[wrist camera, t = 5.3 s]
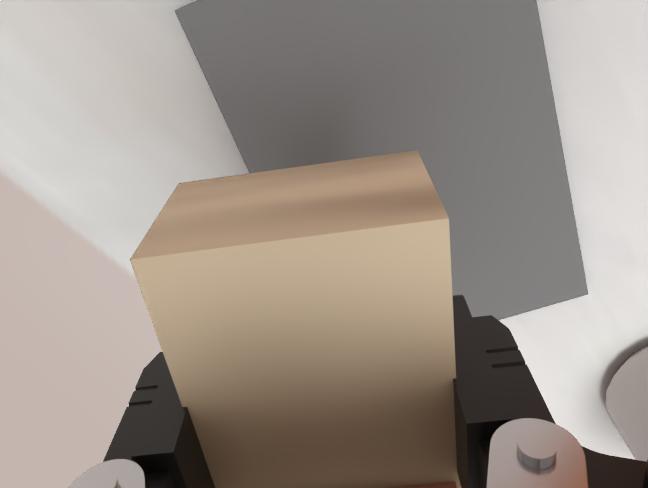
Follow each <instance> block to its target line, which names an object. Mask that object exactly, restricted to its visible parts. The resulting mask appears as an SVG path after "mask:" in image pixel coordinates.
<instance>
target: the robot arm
mask: <svg viewBox="0 0 648 488" xmlns="http://www.w3.org/2000/svg"><path fill="white" fill-rule="evenodd" d="M452 297H453V319H454V341H455V363H456V378H454V379H453V388H454V411H455V434H456V457H457V472H458V476H459V480H460V484H461V488H648V460H647V462H646V461H639V460H633V459H627V458H621V457H615V456H609V455H605V454H601V453H597V452H594V451H591V450H589V449H587V448H585V447H582V446H581V445H580V443H579V442H578V441H577V439H576V438H575V437H574V436H573V435H572V434H571V433H569V432H568V431H567V430H565V429H564V428H562V427H560V426H559V425H556V423H555V422H554V420H553V418H552V416H551V414H550V412H549V410H548V408H547V406H546V404H545V402H544V400H543V397H542V395H541V393H540V391H539V389H538V387H537V385H536V383H535V381H534V379H533V377H532V375H531V373H530V371H529V369H528V367H527V365H525V361H524V358H523V356H522V354H521V352H520V350H518V346H517V344H516V342H515V340H514V338H513V336H512V334H511V332H510V330H509V329H508V328H507V327H506V326H505V325H503V324H502V323H501V322H500V321H498V320H497V319H496V318H495V317H493V316H492V315H489V316H480V317H472V315H471V313H470V310H469V308H468V305H467V303H466V300H465V298H464V296H463V295H454V296H452ZM68 488H215V486H214V483H213V480H212V477H211V474H210V471H209V468H208V465H207V463H206V460H205V457H204V454H203V451H202V448H201V445H200V442H199V439H198V436H197V434H196V431H195V428H194V425H193V422H192V419H191V416H190V413H189V410H188V407H182V405H181V402H180V399H179V396H178V393H177V391H176V388H175V385H174V382H173V379H172V376H171V374H170V371H169V368H168V365H167V362H166V360H165V357H164V354H163V352H160V353H159V354H158V355H157V356H156V357H155V358H154V359H153V360H152V361H151V362H150V363H149V364H148V365H147V366H146V367H145V368H144V369H143V372H142V374H141V376H140V378H139V381H138V383H137V385H136V391H134V392H133V394H132V397H131V399H130V402H129V407H127V408H126V410H125V413H124V415H123V417H122V420H121V422H120V424H119V426H118V429H117V431H116V433H115V435H114V438H113V440H112V442H111V445H110V447H109V449H108V452H107V454H106V456H105V459H104V461H103V462H102V463H100V464H97V465H95V466H93V467H92V468H90V469H88V470H87V471H85V472H84V473H82V474H81V475H80V476H79V477H77V478H76V479H75V480H74V481H73V482H72V483H71V484H70V486H69V487H68Z"/></svg>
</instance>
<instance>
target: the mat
mask: <svg viewBox="0 0 648 488" xmlns="http://www.w3.org/2000/svg"><path fill="white" fill-rule="evenodd" d="M175 12H176V15H177V17H178V19H179V21H180V23H181V25H182V28H183V30H184V32H185V34H186V36H187V38H188V41H189V43H190V45H191V47H192V49H193V51H194V54H195V56H196V58H197V60H198V62H199V64H200V67H201V69H202V71H203V73H204V75H205V77H206V80H207V82H208V84H209V86H210V88H211V90H212V93H213V95H214V97H215V99H216V101H217V103H218V106H219V108H220V110H221V112H222V114H223V116H224V119H225V121H226V123H227V125H228V127H229V129H230V132H231V134H232V136H233V138H234V140H235V142H236V145H237V147H238V149H239V151H240V153H241V155H242V158H243V160H244V162H245V164H246V166H247V168H248V171H249V173H257V172H264V171H271V170H279V169H286V168H293V167H300V166H307V165H315V164H322V163H329V162H336V161H344V160H351V159H358V158H365V157H372V156H380V155H387V154H394V153H401V152H409V151H416V150H417V151H418V153H419V155H420V157H421V159H422V161H423V164H424V166H425V168H426V170H427V172H428V174H429V176H430V179H431V181H432V183H433V185H434V187H435V189H436V192H437V194H438V196H439V198H440V200H441V202H442V204H443V207H444V209H445V211H446V213H447V215H448V217H449V230H450V252H451V275H452V296H454V295H463V296H464V298H465V300H466V303H467V305H468V308H469V310H470V313H471V315H472V317H480V316H489V315H492V316H493V317H495V318H496V319H497V320H500V319H504V318H507V317H511V316H514V315H518V314H521V313H525V312H528V311H532V310H535V309H539V308H542V307H546V306H549V305H553V304H556V303H560V302H563V301H567V300H570V299H573V298H577V297H580V296H584V295H587V294H588V290H587V284H586V279H585V273H584V267H583V262H582V256H581V250H580V245H579V239H578V234H577V228H576V222H575V217H574V211H573V205H572V200H571V194H570V188H569V183H568V177H567V171H566V166H565V160H564V154H563V149H562V143H561V137H560V132H559V126H558V120H557V115H556V109H555V103H554V98H553V92H552V86H551V81H550V75H549V70H548V64H547V58H546V53H545V47H544V41H543V36H542V30H541V24H540V19H539V13H538V7H537V2H536V0H199V1H196V2H194V3H192V4H189V5H187V6H184V7H182V8H180V9H177V10H175Z"/></svg>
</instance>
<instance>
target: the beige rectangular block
mask: <svg viewBox="0 0 648 488" xmlns="http://www.w3.org/2000/svg"><path fill="white" fill-rule="evenodd" d="M130 261H131V264H132V267H133V270H134V272H135V275H136V278H137V281H138V284H139V286H140V289H141V292H142V295H143V297H144V300H145V303H146V306H147V309H148V311H149V314H150V317H151V320H152V323H153V326H154V329H155V331H156V334H157V337H158V340H159V343H160V345H161V348H162V351H163V354H164V357H165V360H166V362H167V365H168V368H169V371H170V374H171V376H172V379H173V382H174V385H175V388H176V391H177V393H178V396H179V399H180V402H181V405H182V407H188V410H189V413H190V416H191V419H192V422H193V425H194V428H195V431H196V434H197V436H198V439H199V442H200V445H201V448H202V451H203V454H204V457H205V460H206V463H207V465H208V468H209V471H210V474H211V477H212V480H213V483H214V486H215V488H461V484H460V480H459V476H458V472H457V457H456V434H455V411H454V388H453V379H454V378H456V363H455V341H454V319H453V297H452V275H451V252H450V230H449V217H448V215H447V213H446V211H445V209H444V207H443V204H442V202H441V200H440V198H439V196H438V194H437V192H436V189H435V187H434V185H433V183H432V181H431V179H430V176H429V174H428V172H427V170H426V168H425V166H424V164H423V161H422V159H421V157H420V155H419V153H418V151H417V150H416V151H409V152H401V153H394V154H387V155H380V156H372V157H365V158H358V159H351V160H344V161H336V162H329V163H322V164H315V165H307V166H300V167H293V168H286V169H279V170H271V171H264V172H257V173H250V174H242V175H235V176H228V177H221V178H214V179H206V180H199V181H192V182H185V183H179V184H178V185H177V187H176V188H175V190H174V192H173V193H172V195H171V196H170V198H169V199H168V201H167V202H166V204H165V206H164V207H163V209H162V210H161V212H160V213H159V215H158V217H157V218H156V220H155V221H154V223H153V224H152V226H151V227H150V229H149V231H148V232H147V234H146V235H145V237H144V238H143V240H142V242H141V243H140V245H139V246H138V248H137V249H136V251H135V252H134V254H133V256H132V257H131V259H130Z"/></svg>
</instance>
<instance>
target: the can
mask: <svg viewBox="0 0 648 488" xmlns="http://www.w3.org/2000/svg"><path fill="white" fill-rule="evenodd" d="M605 406H606V408H607V411H608V413H609V416H610V418H611V420H612V421H613V423H614V425H615V426H616V428H617V430H618V431H619V433H620V435H621V436H622V438H623V440H624V441H625V443H626V444H627V446H628V448H629V449H630V451H631V453H632V454H633V456H634V458H635V459H636V460H639V461H646V462H647V460H648V346H646V347H644V348H642V349H641V350H639V351H638V352H636V353H635V354H633V355H632V356H630V357H629V358H628V359H627V360H626V361H625V362H624V363H623V364H622V365H621V367H620V368H619V369H618V371H617V372H616V374H615V375H614V376H613V378H612V380H611V382H610V384H609V386H608V388H607V391H606V404H605Z"/></svg>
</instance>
